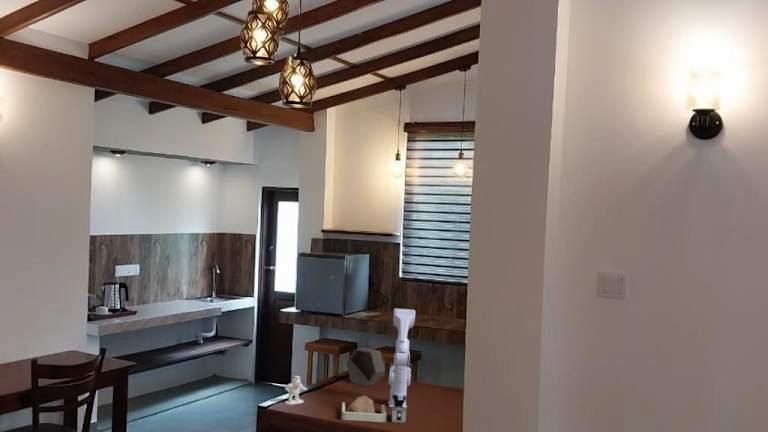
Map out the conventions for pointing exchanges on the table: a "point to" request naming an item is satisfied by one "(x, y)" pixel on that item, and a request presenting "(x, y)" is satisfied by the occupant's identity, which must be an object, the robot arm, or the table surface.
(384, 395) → the table surface
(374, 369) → the planter
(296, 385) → the figurine
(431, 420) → the table surface
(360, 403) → the stone
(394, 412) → the axle mount
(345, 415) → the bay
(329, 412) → the table surface
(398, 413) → the wheel
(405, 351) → the robot arm
